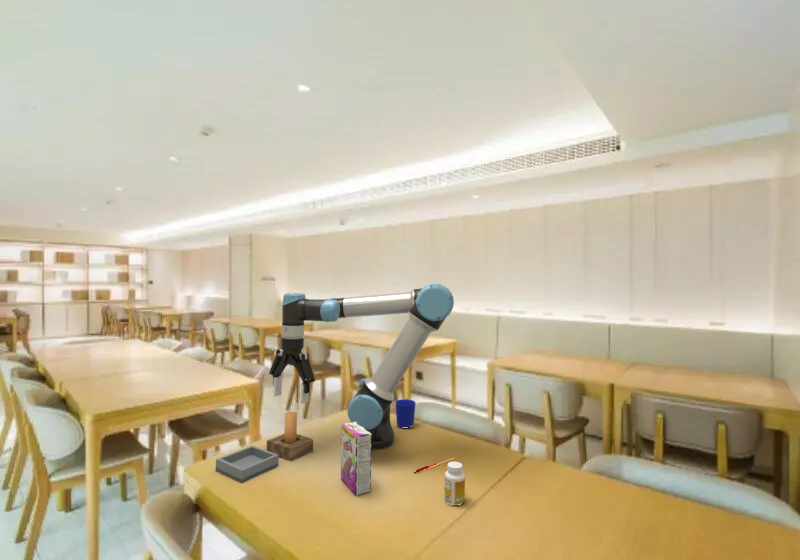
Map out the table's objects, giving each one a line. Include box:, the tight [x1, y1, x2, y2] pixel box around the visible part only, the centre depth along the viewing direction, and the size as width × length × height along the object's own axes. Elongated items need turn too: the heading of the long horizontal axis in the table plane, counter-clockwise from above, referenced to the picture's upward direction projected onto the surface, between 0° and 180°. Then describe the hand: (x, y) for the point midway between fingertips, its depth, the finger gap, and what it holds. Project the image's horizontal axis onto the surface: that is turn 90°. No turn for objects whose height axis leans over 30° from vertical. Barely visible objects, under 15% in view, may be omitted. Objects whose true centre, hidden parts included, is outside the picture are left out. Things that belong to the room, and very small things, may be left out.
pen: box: [413, 462, 438, 474], centre depth 125 cm, size 1×19×1 cm, turn 129°
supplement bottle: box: [443, 461, 466, 505], centre depth 104 cm, size 5×5×10 cm
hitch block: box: [266, 433, 314, 462], centre depth 133 cm, size 12×10×4 cm
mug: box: [395, 398, 416, 428], centre depth 162 cm, size 8×12×10 cm
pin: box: [284, 411, 298, 444], centre depth 133 cm, size 4×4×13 cm
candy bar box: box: [340, 421, 372, 497], centre depth 111 cm, size 11×5×16 cm, turn 31°
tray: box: [215, 444, 280, 484], centre depth 120 cm, size 13×13×4 cm
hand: (290, 399), depth 134 cm, fingers open, 13 cm apart
